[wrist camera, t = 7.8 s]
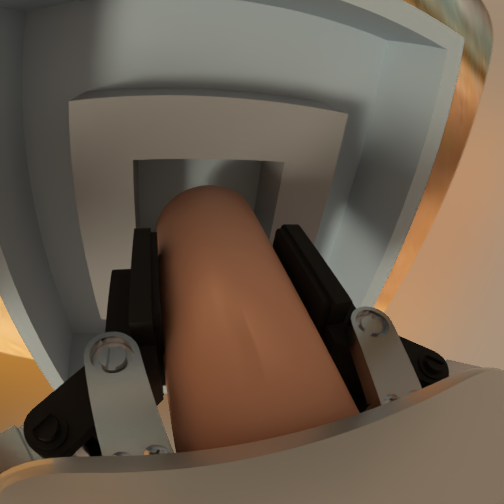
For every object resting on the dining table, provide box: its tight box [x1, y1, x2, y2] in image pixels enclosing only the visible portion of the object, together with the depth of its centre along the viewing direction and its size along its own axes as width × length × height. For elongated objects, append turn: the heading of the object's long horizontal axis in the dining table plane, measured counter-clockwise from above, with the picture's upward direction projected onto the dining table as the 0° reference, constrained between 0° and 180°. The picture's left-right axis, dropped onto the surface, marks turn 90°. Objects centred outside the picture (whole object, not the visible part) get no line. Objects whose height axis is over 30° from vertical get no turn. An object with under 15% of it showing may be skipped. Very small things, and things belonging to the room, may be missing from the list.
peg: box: [156, 185, 359, 453], centre depth 8 cm, size 4×4×10 cm
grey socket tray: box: [0, 0, 465, 393], centre depth 13 cm, size 20×18×5 cm
